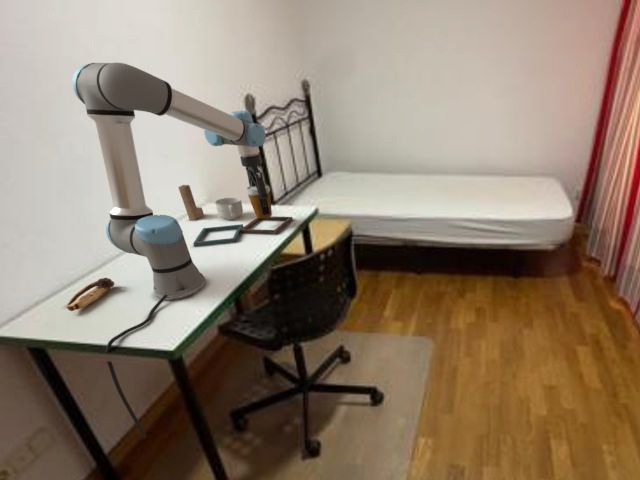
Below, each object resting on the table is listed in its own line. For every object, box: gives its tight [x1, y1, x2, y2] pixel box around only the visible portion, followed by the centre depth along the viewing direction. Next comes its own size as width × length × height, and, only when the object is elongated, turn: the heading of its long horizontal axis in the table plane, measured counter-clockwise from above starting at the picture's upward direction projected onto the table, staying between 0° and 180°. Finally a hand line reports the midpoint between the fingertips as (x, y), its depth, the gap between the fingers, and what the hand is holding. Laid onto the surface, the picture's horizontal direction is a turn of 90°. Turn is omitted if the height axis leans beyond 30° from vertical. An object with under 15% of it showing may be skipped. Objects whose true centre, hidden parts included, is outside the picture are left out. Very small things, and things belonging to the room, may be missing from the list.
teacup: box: [214, 197, 244, 221], centre depth 199 cm, size 14×11×8 cm
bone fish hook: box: [66, 277, 115, 312], centre depth 142 cm, size 9×5×18 cm
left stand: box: [192, 223, 244, 247], centre depth 183 cm, size 16×16×2 cm
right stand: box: [240, 215, 294, 235], centre depth 190 cm, size 16×16×2 cm
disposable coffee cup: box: [245, 183, 273, 218], centre depth 185 cm, size 10×10×12 cm
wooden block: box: [178, 184, 205, 221], centre depth 200 cm, size 7×3×15 cm, turn 169°
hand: (263, 211), depth 187 cm, fingers closed on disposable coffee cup, 8 cm apart
